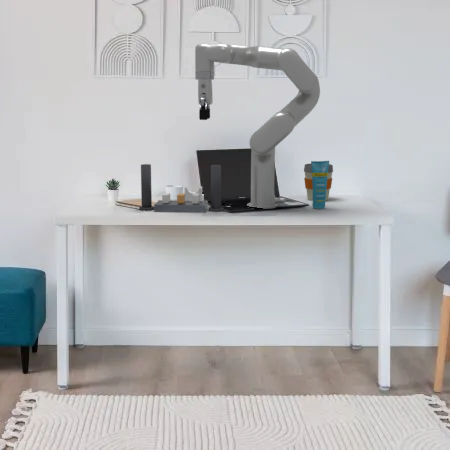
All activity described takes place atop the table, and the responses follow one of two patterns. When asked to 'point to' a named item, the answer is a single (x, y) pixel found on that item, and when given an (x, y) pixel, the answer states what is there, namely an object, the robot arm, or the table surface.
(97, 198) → the table surface
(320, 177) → the tube
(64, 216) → the table surface
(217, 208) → the post
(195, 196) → the paddle
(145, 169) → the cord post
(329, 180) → the reusable coffee cup
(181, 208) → the breaker panel
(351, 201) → the table surface
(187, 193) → the bracket
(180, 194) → the block
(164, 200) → the white rectangular block
